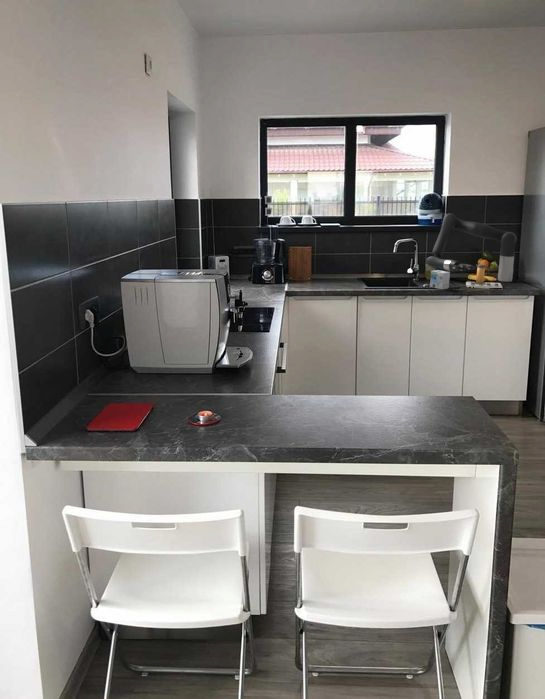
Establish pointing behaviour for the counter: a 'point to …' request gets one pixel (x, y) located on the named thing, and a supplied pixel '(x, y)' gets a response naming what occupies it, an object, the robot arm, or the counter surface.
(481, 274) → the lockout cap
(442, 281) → the light bulb box
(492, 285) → the breaker board
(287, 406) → the counter surface
